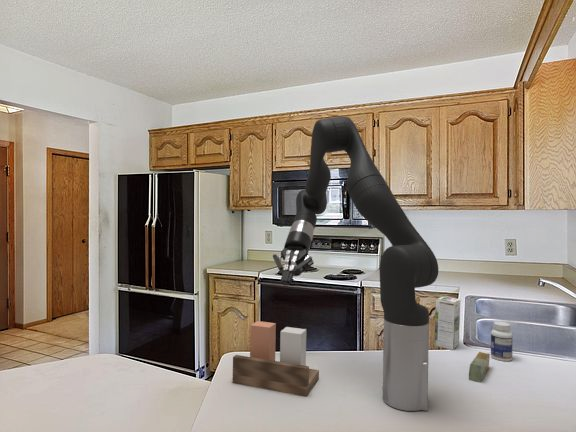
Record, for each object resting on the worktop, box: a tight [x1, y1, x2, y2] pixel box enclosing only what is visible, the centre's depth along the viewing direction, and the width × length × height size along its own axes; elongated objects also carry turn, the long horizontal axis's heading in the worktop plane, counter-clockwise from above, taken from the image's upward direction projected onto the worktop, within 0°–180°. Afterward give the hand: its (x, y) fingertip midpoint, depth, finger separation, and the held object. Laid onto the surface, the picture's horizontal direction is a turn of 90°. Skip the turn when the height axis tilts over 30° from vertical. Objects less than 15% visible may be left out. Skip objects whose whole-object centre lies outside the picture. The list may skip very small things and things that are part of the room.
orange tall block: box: [249, 320, 277, 361], centre depth 95 cm, size 5×4×10 cm
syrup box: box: [433, 296, 461, 351], centre depth 119 cm, size 6×6×14 cm
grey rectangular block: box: [279, 326, 307, 366], centre depth 90 cm, size 5×4×10 cm
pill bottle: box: [490, 321, 514, 362], centre depth 109 cm, size 5×5×10 cm
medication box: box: [468, 351, 491, 383], centre depth 98 cm, size 12×3×4 cm, turn 144°
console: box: [231, 354, 320, 397], centre depth 92 cm, size 18×10×6 cm, turn 70°
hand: (285, 283), depth 109 cm, fingers closed
